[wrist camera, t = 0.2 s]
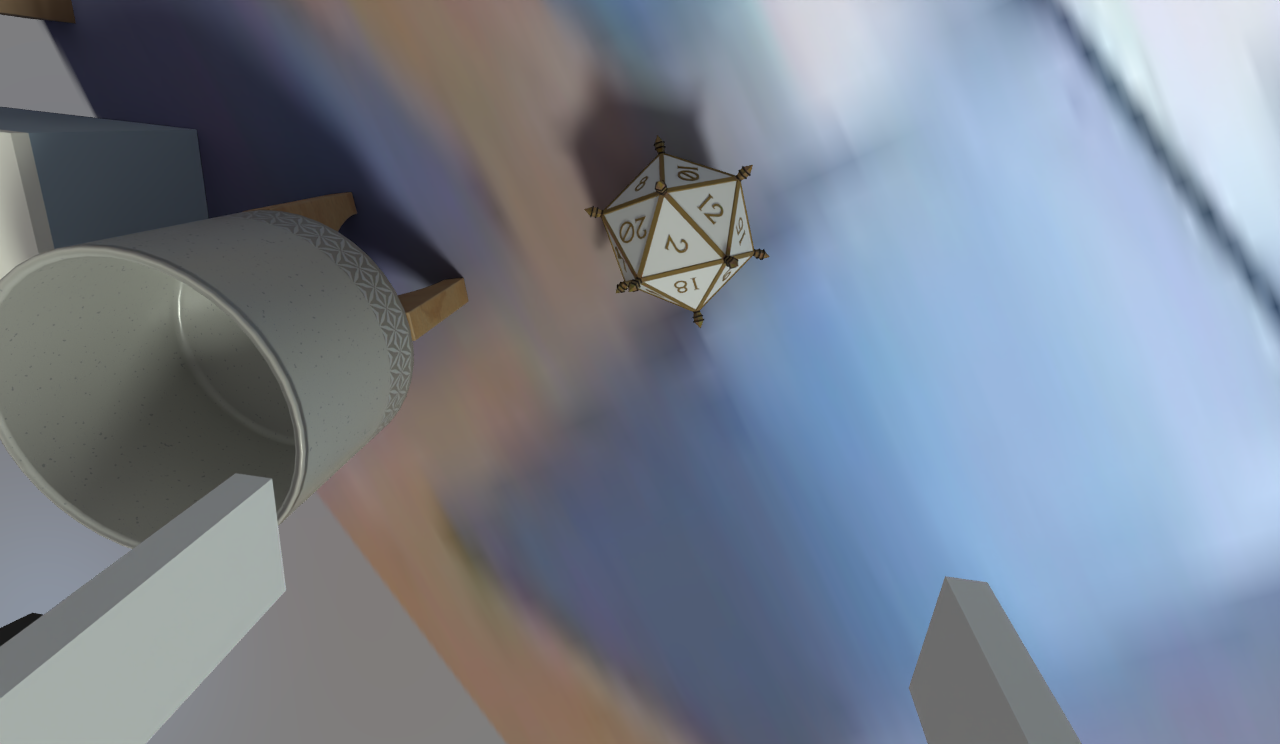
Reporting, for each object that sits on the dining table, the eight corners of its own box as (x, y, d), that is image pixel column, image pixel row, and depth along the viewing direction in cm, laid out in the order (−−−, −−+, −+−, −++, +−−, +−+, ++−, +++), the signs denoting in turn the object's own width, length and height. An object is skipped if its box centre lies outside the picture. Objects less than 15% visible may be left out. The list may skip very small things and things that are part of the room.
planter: (443, 180, 38) (236, 227, 22) (487, 387, 43) (343, 555, 26) (241, 204, 40) (-90, 264, 24) (304, 400, 45) (61, 565, 28)
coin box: (-55, 100, 40) (-322, 93, 30) (196, 129, 39) (10, 133, 29) (3, 321, 45) (-207, 381, 35) (226, 352, 44) (78, 423, 34)
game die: (673, 243, 42) (585, 345, 36) (635, 112, 37) (526, 209, 31) (808, 254, 37) (729, 373, 31) (787, 104, 32) (688, 217, 26)
